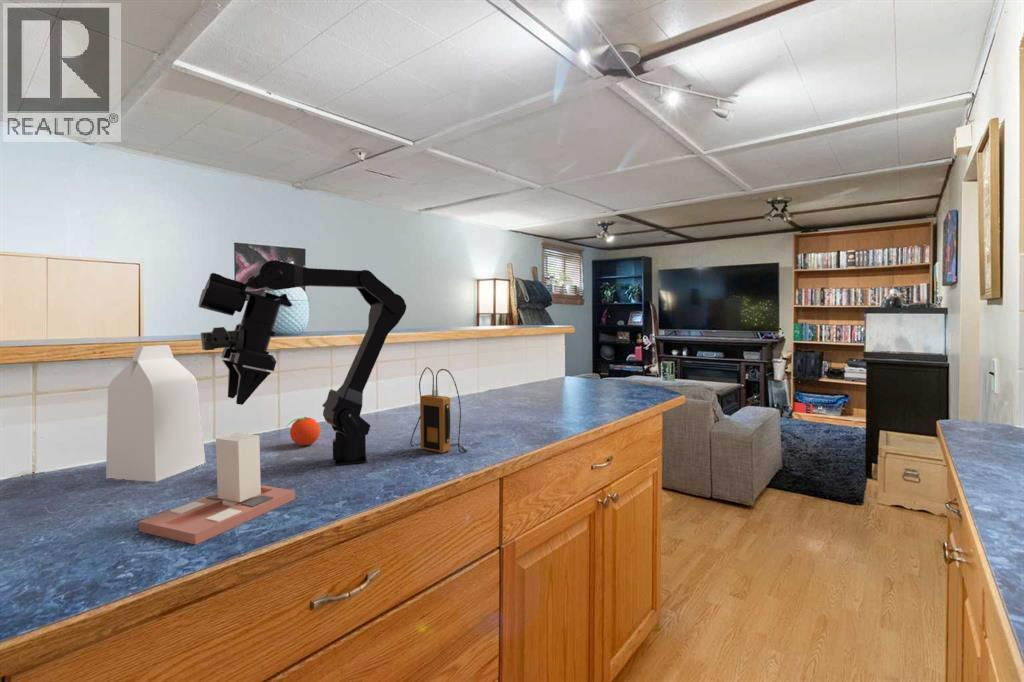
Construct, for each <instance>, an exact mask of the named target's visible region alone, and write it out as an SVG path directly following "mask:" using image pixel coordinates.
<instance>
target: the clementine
mask: <svg viewBox="0 0 1024 682" xmlns="http://www.w3.org/2000/svg"><path fill="white" fill-rule="evenodd" d="M293 422H294V423H293ZM291 423H292V425H291V427H290V431H289V436H290V438H291V440H292V441H293V442H294V443H295V444H297V445H299V446H302V445H303V447H305V446H304V445H307V446H309V445H313V444H314V443H315V442H317V440H318V439H319V437H320V434H321V427H320V423H318V421H317V420H315V419H314V418H312V417H306V416H304V417H299V418H295V419H293V420H292V421H290V422H289V423H288V424H287V425H286V427H288V426H289V425H290V424H291Z"/></svg>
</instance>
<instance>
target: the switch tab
mask: <svg viewBox="0 0 1024 682" xmlns="http://www.w3.org/2000/svg"><path fill="white" fill-rule="evenodd" d="M260 444H261V443H260V435H256V434H248V433H242V432H241V433H240V432H237V433H234V434H233V433H232V434H229V435H224V436H221V437H220V436H219V437H217V438H215V446H216V447H215V448H216V451H215V452H216V478H217V479H216V480H217V481H216V482H217V483H216V484H217V492H218V498H220V499H225V500H223V501H222V505H226V506H231V507H232V506H234V505H236V504H239V503H241V502H244V501H246V500H249V499H251V498H253V497H256V495H259V494H261V485H262V483H261V456H260V455H261V453H260V451H261V450H260V447H261V446H260Z"/></svg>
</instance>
